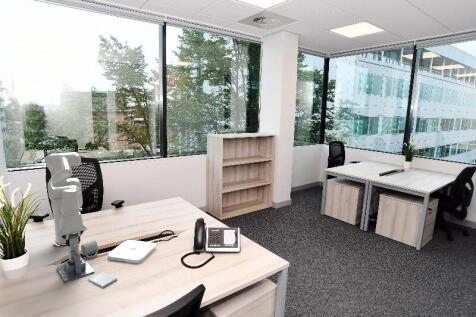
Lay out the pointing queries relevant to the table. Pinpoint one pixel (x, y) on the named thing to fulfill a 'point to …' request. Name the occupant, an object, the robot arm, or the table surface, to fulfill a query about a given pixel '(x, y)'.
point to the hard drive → (102, 279)
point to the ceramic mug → (89, 249)
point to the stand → (74, 269)
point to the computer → (132, 251)
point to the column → (73, 246)
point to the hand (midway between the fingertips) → (73, 244)
